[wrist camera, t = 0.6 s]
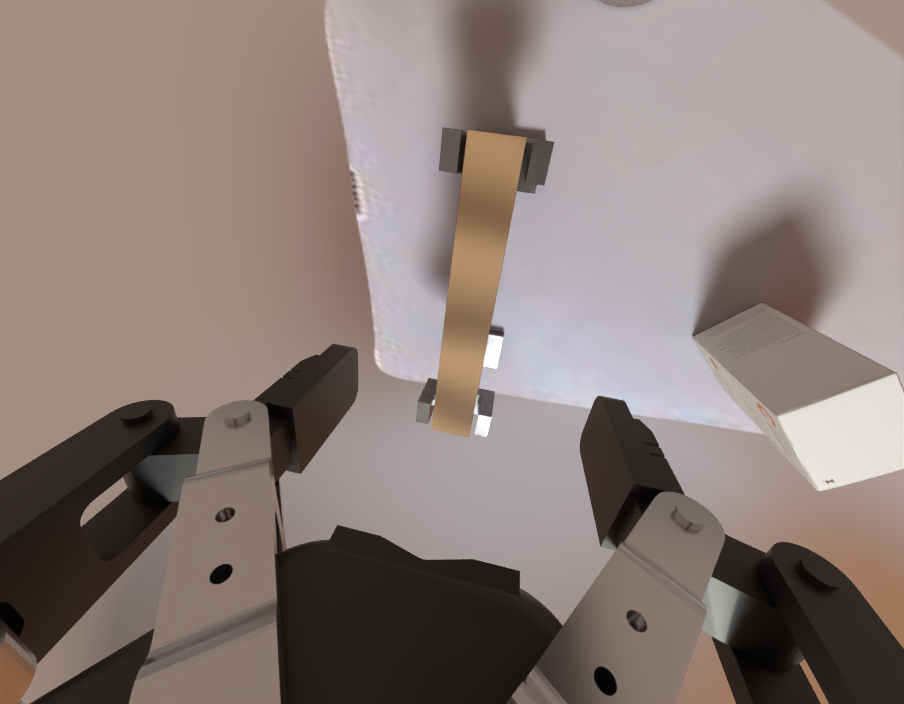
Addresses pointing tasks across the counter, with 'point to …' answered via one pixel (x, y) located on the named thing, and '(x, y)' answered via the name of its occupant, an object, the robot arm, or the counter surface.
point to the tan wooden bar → (475, 272)
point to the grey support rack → (530, 176)
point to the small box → (809, 395)
